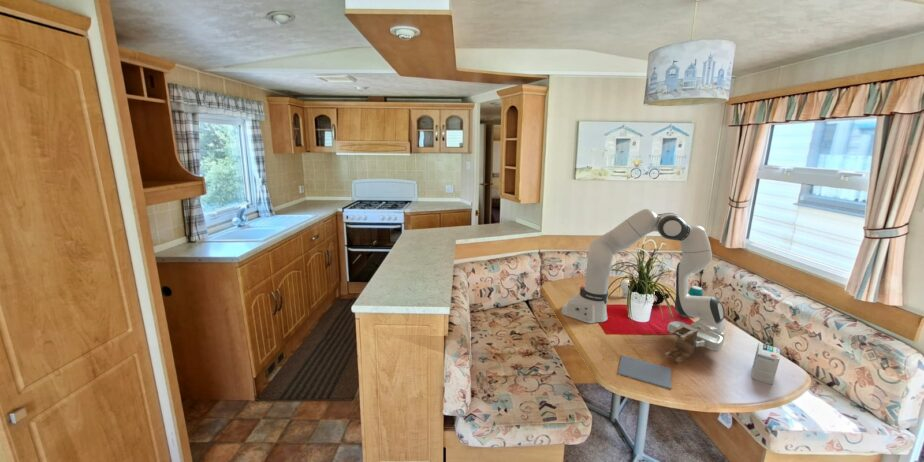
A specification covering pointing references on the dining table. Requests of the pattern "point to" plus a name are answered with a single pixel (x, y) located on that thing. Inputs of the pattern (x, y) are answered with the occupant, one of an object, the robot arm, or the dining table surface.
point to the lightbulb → (624, 287)
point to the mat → (645, 371)
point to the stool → (683, 342)
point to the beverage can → (695, 291)
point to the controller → (660, 297)
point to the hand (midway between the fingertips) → (685, 340)
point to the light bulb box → (765, 363)
